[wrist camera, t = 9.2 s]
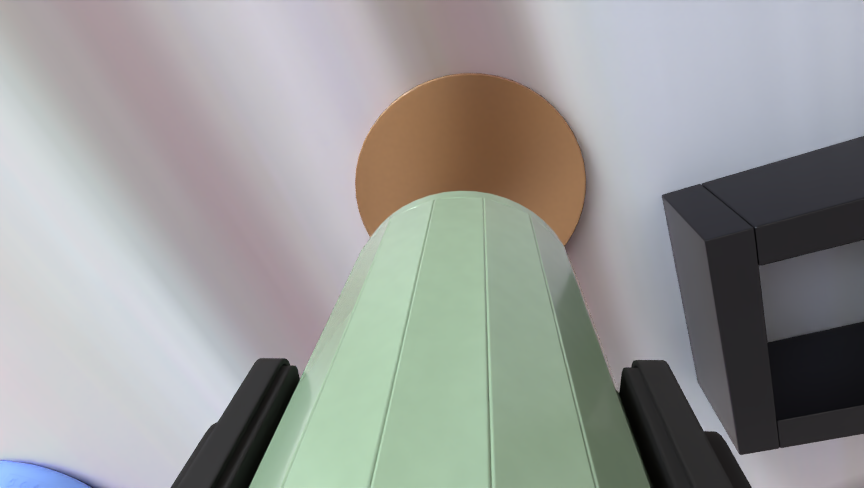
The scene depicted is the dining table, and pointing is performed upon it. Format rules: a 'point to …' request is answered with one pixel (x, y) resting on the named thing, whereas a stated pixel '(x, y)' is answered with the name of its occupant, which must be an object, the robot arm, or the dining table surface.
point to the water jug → (34, 477)
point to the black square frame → (742, 299)
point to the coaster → (472, 151)
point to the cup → (457, 365)
